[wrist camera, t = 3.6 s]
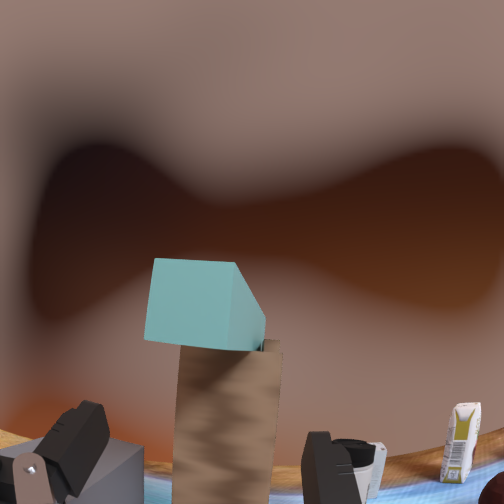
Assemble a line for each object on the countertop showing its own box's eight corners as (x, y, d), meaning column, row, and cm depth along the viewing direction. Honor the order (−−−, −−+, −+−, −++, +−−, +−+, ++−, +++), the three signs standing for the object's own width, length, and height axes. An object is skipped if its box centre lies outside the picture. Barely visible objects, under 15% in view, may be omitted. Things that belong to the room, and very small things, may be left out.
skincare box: (354, 489, 53) (361, 442, 56) (373, 488, 52) (381, 441, 56) (357, 500, 47) (366, 450, 51) (378, 499, 46) (388, 449, 50)
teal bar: (144, 339, 14) (154, 258, 15) (229, 348, 37) (232, 315, 38) (226, 349, 14) (234, 262, 15) (263, 351, 36) (265, 317, 38)
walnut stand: (163, 613, 14) (166, 328, 24) (182, 566, 24) (193, 335, 34) (260, 625, 13) (298, 340, 23) (259, 574, 24) (285, 343, 34)
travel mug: (304, 544, 32) (321, 437, 38) (341, 536, 34) (360, 432, 39) (322, 563, 26) (345, 448, 32) (361, 552, 28) (386, 441, 34)
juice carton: (436, 483, 48) (449, 408, 53) (444, 471, 53) (455, 402, 59) (465, 485, 42) (480, 407, 48) (471, 472, 48) (483, 401, 54)
